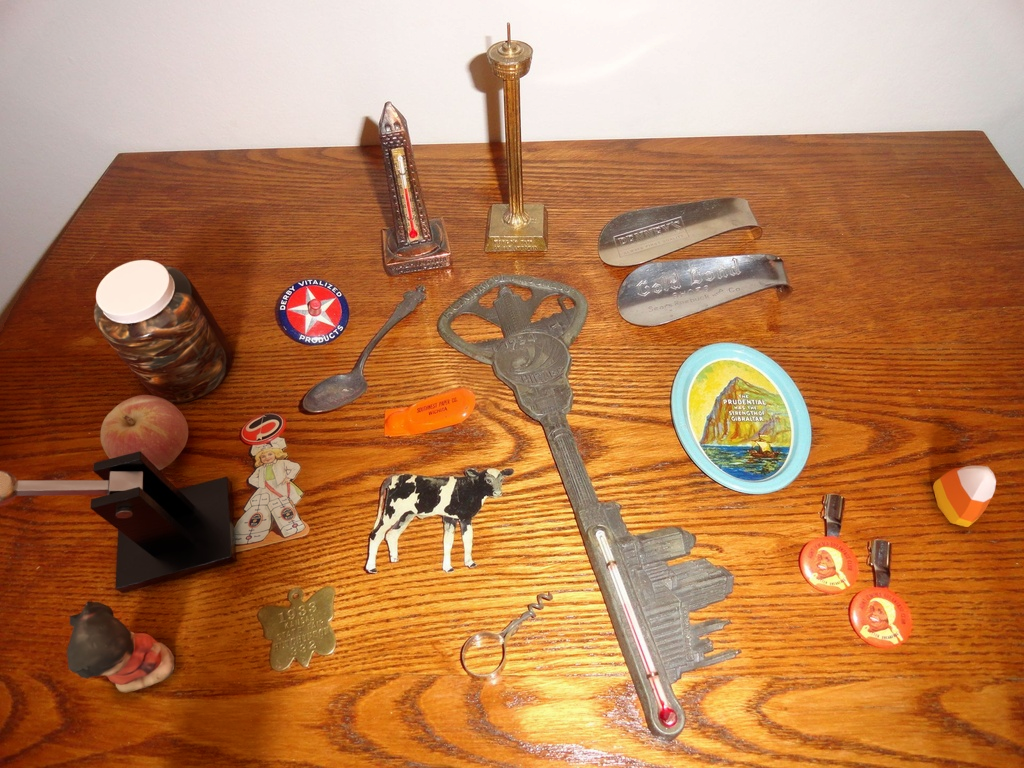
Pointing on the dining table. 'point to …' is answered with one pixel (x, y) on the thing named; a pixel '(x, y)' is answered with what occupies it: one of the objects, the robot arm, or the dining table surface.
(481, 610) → the dining table surface
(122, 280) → the jar
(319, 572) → the dining table surface
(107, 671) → the figurine
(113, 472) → the lever
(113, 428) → the apple
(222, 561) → the bracket
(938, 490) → the candy corn
